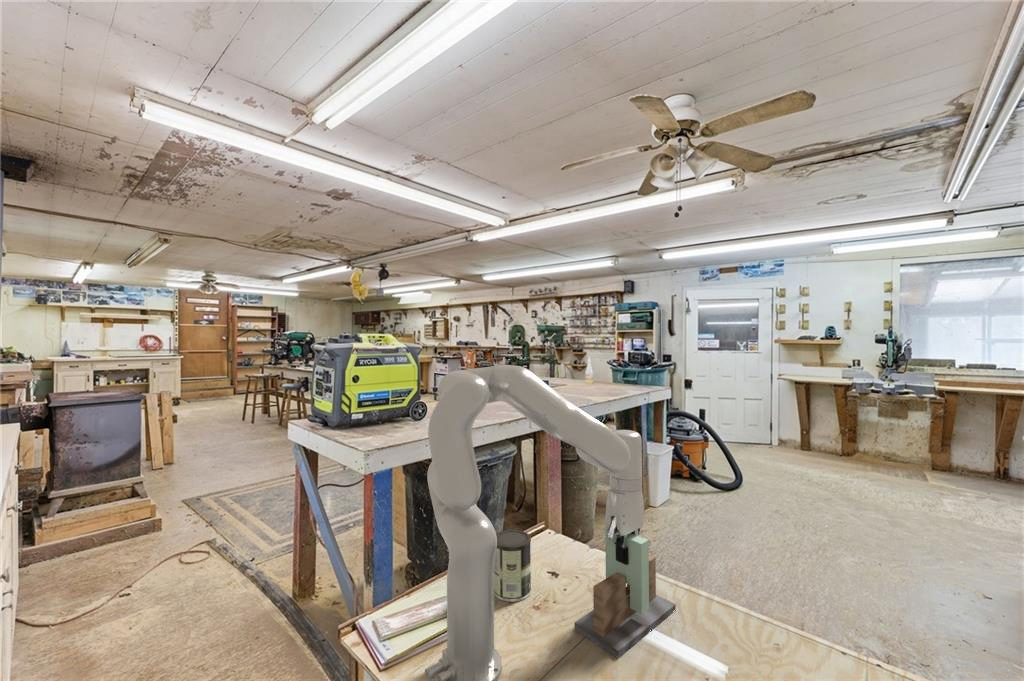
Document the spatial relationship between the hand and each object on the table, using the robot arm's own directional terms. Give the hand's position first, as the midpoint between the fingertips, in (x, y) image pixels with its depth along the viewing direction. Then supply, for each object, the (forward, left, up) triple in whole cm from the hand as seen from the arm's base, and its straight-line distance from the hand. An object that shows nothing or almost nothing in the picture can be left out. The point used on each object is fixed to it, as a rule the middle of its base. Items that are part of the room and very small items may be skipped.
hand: (626, 559), depth 100 cm
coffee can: (-13, +27, -15) cm, 33 cm away
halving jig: (0, 0, -14) cm, 14 cm away
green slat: (0, 0, -10) cm, 10 cm away
